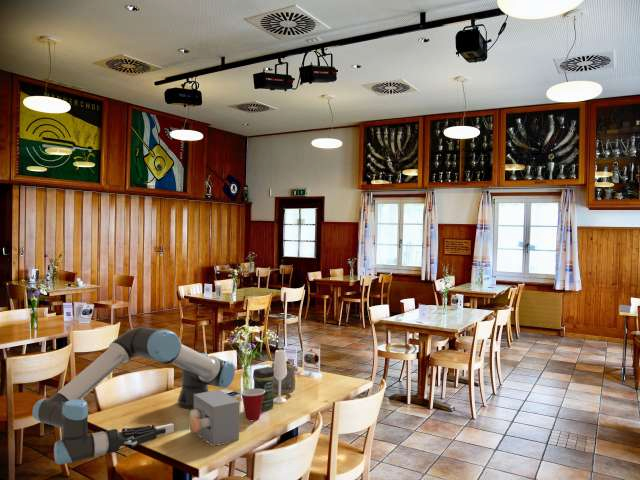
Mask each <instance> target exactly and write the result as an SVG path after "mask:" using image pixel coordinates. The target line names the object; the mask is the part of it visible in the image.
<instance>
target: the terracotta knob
mask: <svg viewBox="0 0 640 480" xmlns="http://www.w3.org/2000/svg"><path fill="white" fill-rule="evenodd" d="M210 426H211V418H210V417H208V418H203V419H199V418H198V417H196V418H192V419H190V418H189V421H188V427H189V430H190V433H192V434H194V433H195V432H199V431H200V430H201V428H205V427H210ZM195 434H196V433H195Z"/></svg>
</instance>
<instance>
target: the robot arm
mask: <svg viewBox="0 0 640 480" xmlns="http://www.w3.org/2000/svg"><path fill="white" fill-rule="evenodd" d="M135 357H136V358H137V357H139V358H144V359H149V360H153V361H155V362H157V363H159V364H162V365H170V364H171V365H174V366H176V367H179V368H180V369H181V389H180V392H179V396H178V398H177V406H178V407H179V408H180V409H181V408H182V409H186V410H187V409H188V410H194V394H198V393H203V392H208V391H209V387H208V386H212V387H218V388H220V389H225V388H226V389H227V388H228V387H230V386H231V384H232V382H233V381H234V380H235V379H234V377H235V375H236V368H235V367H236V366H235V364H234V363H233V362H231V361H229V360H227V361H226V360H223V359H220V358H218V357H216V356H214V355H209V354H208V353H207V352H198V351H196V350H195V349H193V348H191V347H188V346H186V345H184V344H183V343H182V341H181V339H180V338H179V336H178V335H177V333H175V332H173V331H171V330H168V329H160V328H153V327H152V328H151V327H146V326H139V327H134V328H132V329H130V330H128V331H126V332H124V333H123V334H121V335H120V336H118V337H117V338H116V339H114V340H113V341H112V342H110V344H109V345H108V348H107V349H106V351H104V352H103V353H101V354H100V356H98V357H97V358H96V359H95V360H94V361H92V362H91V363H90V364H89V365H87V366H86V367H85V368H84V369H83V370H82V371H81V372H79V373H78V374H77V375H75V377H73V378H72V379H71V380H70V381H69V382H68V383H66V384H65V385H64V386H63V387H62V388H61V389H60V390H58V391H57V392H56V393H55V394H54V395H52V396H51V397H49V398H41V399H40V400H38V401H36V403H34V405H33V408H32V418H34V419H35V420H36V421H38V422H40V423H42V424H47V425H51V426H53V427H56V428H60V429H61V439H59V440H57V441H55V442H54V445H53V446H54V447H53V457H54V461H55V463H56V464H57V465H65V464H72V463H75V462H79V461H83V460H87V459H92V458H98V457H99V456H100V457H101V456H103V455H104V456H105V455H106V454H113V453H117V452H119V450H120V448H121V447H124V446H125V447H126V446H131V448H135V447H137V446H139V445H142V444H144V443H147V442H151V441H154V440H156V439H158V438H157V436H161V435H165V434H171V433H173V432H175V431H174V430H175V426H174V425H175V424H173V423H167V424H164V425H158V426H155V425H154V424H151V425H144V426H137V427H127V428H125V427H123V428H121V431H119V430H118V429H116V428H113V429H109V430H105V431H104V430H103V431H96V432H94V433H89V434H88V422H89V421H88V420H89V419H88V418H89V417H88V416H89V411H88V402H87V401H86V400H84V398H85V397H86V396H87V395H88V394H89V393H90V392H91V391H93V389H95V388H96V387H97V386H98V385H99V384H100V383H102V382H103V381H104V380H105V379H106V378H107V377H108V376H110V375H111V374H112V373H113V372H114V370H116V369H117V368H118V367H119V366H120V365H121V364H123V363H124V364H125V363H127V362H129V361H130V360H132V359H133V358H135Z"/></svg>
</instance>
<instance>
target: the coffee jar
mask: <svg viewBox="0 0 640 480" xmlns="http://www.w3.org/2000/svg"><path fill="white" fill-rule="evenodd" d="M271 367H272V366H271ZM271 367H270V366H266V367H265V366H264V367H260V368H255V369H254V370H253V374H252V379H253V389H263V390H265V393H264V397H263V402H262V408H261V412H262V411H266V410H270V409H273V407H274V402H273V399H274V393H273V379H274V370H273V368H271Z"/></svg>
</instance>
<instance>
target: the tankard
mask: <svg viewBox="0 0 640 480" xmlns="http://www.w3.org/2000/svg"><path fill="white" fill-rule="evenodd" d="M286 367H287V375H286V377H285V378H284V379H283V380H281V395H282V394H289V393H293V392H294V391H295V390H296V376H295V375H296V374H295V373H296V372H298V371H299V368H298V367H297V365H294V362H293V361H291V360H286ZM271 368H273V370H274V361H273V362H272V363H271ZM278 392H279V380H277V379H276V378H275V377H274V379H273V394H278Z"/></svg>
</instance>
